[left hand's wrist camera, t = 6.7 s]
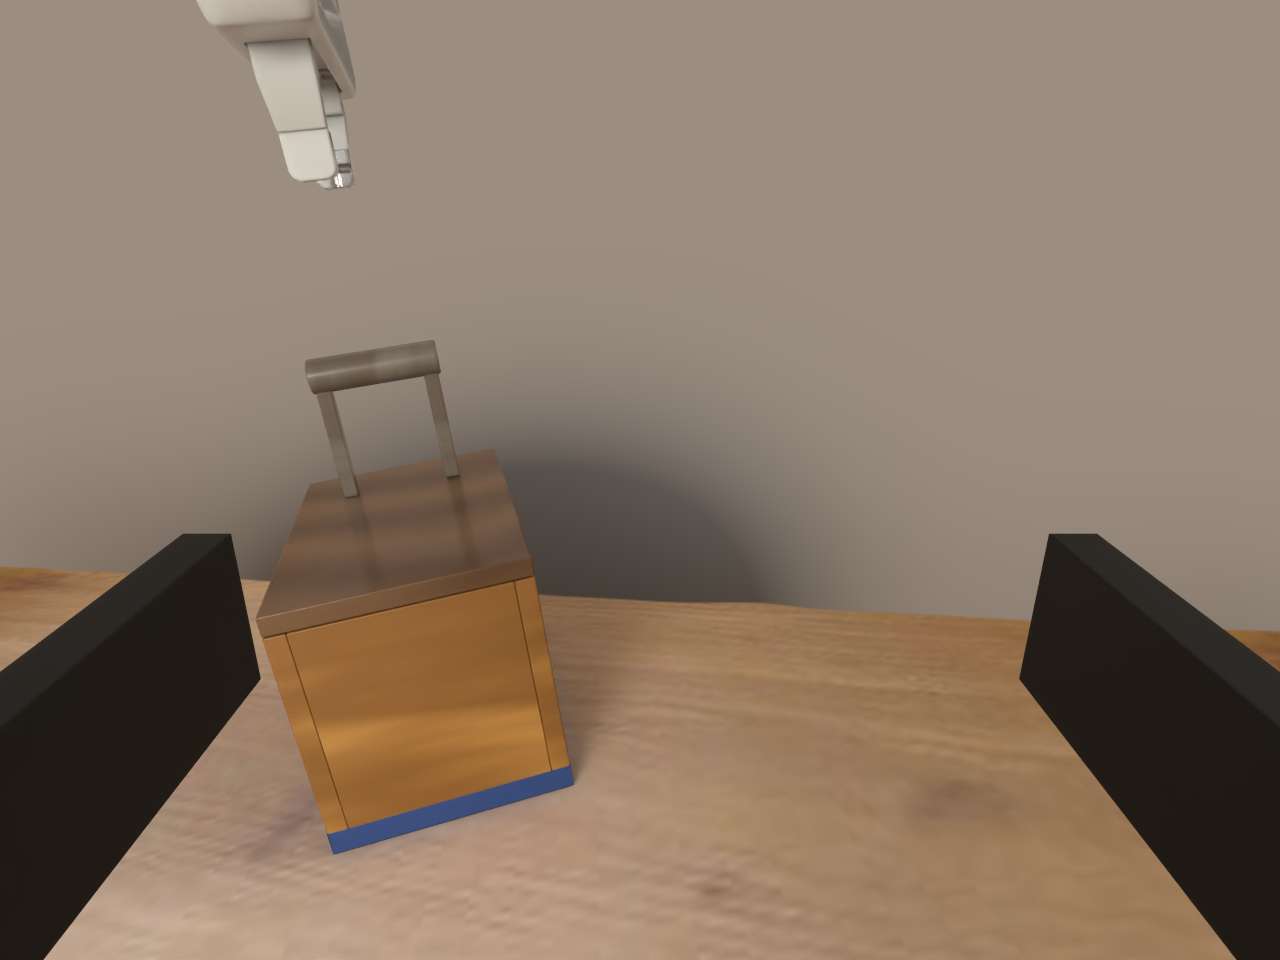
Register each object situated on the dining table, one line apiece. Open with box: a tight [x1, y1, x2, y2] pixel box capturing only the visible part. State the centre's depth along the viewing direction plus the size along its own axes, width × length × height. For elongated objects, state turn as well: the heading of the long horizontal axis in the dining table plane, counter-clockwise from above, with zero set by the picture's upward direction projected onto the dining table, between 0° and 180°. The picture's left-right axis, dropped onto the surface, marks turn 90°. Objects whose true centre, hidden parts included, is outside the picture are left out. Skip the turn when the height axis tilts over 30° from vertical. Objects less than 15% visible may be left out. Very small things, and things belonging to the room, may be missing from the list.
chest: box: [263, 575, 574, 854], centre depth 38 cm, size 15×10×10 cm
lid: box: [256, 340, 534, 637], centre depth 35 cm, size 16×10×8 cm, turn 16°
